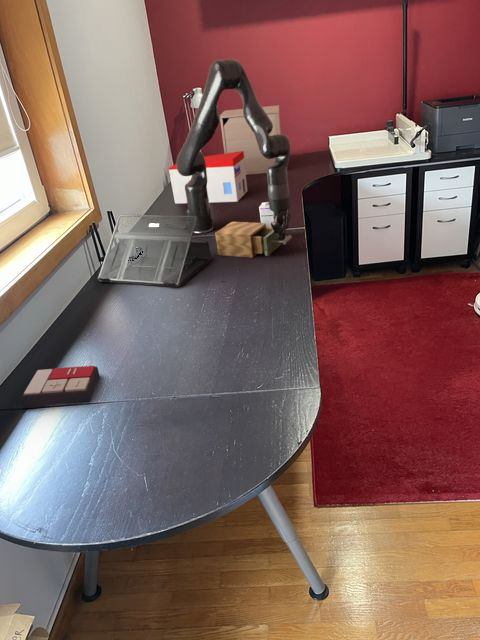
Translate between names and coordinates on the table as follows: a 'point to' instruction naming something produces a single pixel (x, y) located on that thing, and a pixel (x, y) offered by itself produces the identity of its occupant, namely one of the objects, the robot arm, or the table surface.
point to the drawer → (267, 241)
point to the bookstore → (216, 178)
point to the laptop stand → (155, 253)
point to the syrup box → (266, 214)
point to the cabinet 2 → (237, 239)
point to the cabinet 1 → (247, 138)
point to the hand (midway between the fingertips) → (282, 242)
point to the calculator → (61, 386)
